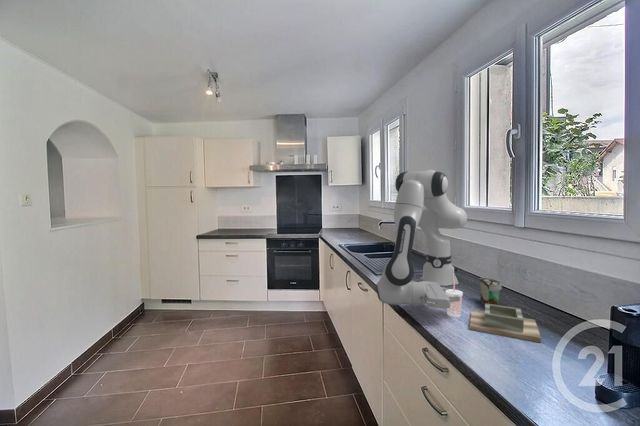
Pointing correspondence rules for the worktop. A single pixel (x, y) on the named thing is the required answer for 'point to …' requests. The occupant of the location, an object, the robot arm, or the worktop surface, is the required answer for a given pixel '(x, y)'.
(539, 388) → the worktop surface
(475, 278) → the worktop surface
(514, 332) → the collar stand
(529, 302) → the worktop surface
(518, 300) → the worktop surface
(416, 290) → the robot arm
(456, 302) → the beverage cup
